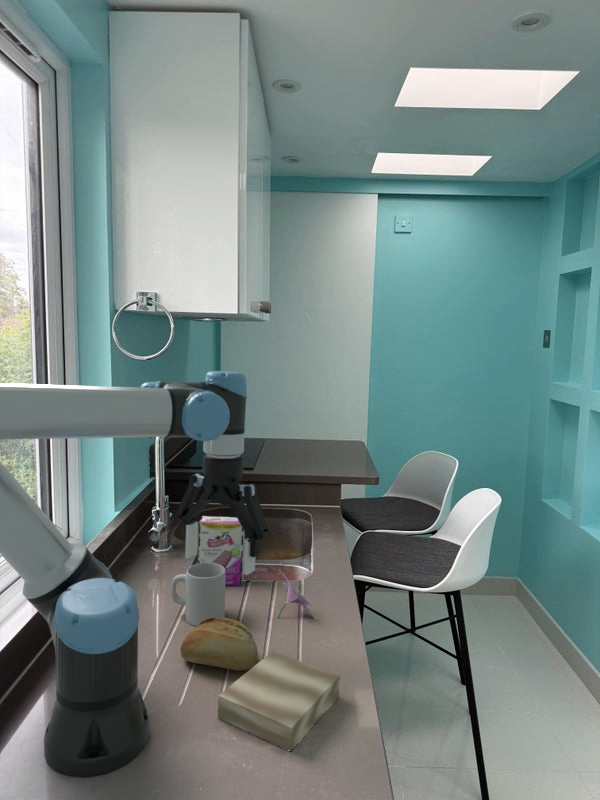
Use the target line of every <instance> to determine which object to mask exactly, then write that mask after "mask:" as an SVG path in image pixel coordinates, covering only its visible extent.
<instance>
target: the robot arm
mask: <svg viewBox="0 0 600 800" xmlns="http://www.w3.org/2000/svg"><path fill="white" fill-rule="evenodd" d="M247 388H248V387H247V377H246V375H245V374H244V373H241V372H239V371H230V370H225V371H224V370H211V371H208V372H207V373H206V374H205V378H204V381H200V382H193V381H192V382H191V381H188V382H187V381H186V382H185V381H162V380H158V381H147V382H144V383H142V384H141V385H140V387H138V386H137V387H135V386H134V387H133V386H132V387H131V386H102V385H99V386H97V385H96V386H95V385H72V384H71V385H68V384H41V383H37V384H36V383H7V382H4V383H2V382H0V440H41V439H42V440H49V439H50V440H51V439H53V440H55V439H102V438H103V439H108V438H110V439H112V438H119V439H120V438H191V439H192V440H195V441H202V442H203V446H202V451H203V452H204V455H203V456H202V473H200V472H199V473H195V474H192V475H190V476H189V481H188V487H187V488H186V491H185V493H184V495H183V496H182V499H181V501H180V503H179V505H178V508H177V510H176V511H175V514H174V517H175V519H176V520H181V522H182V524H183V532H182V533H183V534H182V536H183V539H184V540H185V547H184V549H185V555H184V558H185V559H190V558H192V557H194V556H196V555H198V542H199V522H198V521H197V518H198V516H200V514H201V513H202V512H203V511H204V510H205V509H206V508H207V506H208V505H209V504H210V503H212V504H213V503H214V504H219V505H220V504H221V505H222V506H228V508H229V509H230V510H232V512H233V514H234V515H235V517H237V519H238V520H239V522H240V524H241V526H242V527H243V529H244V531H245V535H246V536H247V538H245V542H244V571H243V576H249V575H250V574H251V573H253V572H254V571H256V557H257V556H259V554H260V545H261V544H260V543H261V540H262V539H264V538H266V537H268V536H269V535H270V534H271V532H270V528H269V525H268V523H267V520H266V517H265V515H264V512H263V509H262V506H261V503H260V500H259V497H258V488H257V485H256V484H255V483H251V484H243V481H242V477H243V474H244V460H245V459H244V456H243V455H242V454H243V453H244V450H245V435H246V434H245V433H246V432H245V429H246V428H245V427H246V423H245V422H246V410H247V409H246V408H247V399H248V395H247V394H248V393H247ZM202 486H203V488H204V492H203V493H202V494H201V495H200V496H199V499H198V500H196V498H197V496H198V494H199V492H200V490H201V488H202ZM243 497H244V499H243ZM195 501H196V502H195ZM194 502H195V504H194ZM193 504H194V505H193ZM0 556H2V557H3V559H4V560H5V561H6V562H7V563H8V564H9V565H10V566H11V567H12V568H13V570H15V571H14V572H16V573H17V575H19V576H20V577H21V579H23V581H24V583H23V588H22V595H23V596H24V597H25V599H26V600H27V601H28V602H29V603H30V604H31V605H32V606H33V607H34V608H35V609H36V611H38V613H39V614H40V615H41V616H42V617H43V618H44V620H45V621H46V622H47V625H48V627H49V632H50V634H51V637H52V642H53V646H54V654H55V687H56V688H55V689H56V690H55V691H56V693H55V695H56V697H55V699H56V700H55V702H54V705H53V709H52V713H51V717H50V721H48V722H49V723H48V725H47V727H46V729H45V731H44V737H43V752H44V753H43V754H44V758H45V761H46V763H47V764H48V765H49V766H50V768H52V769H53V770H54V771H56V772H58V773H60V774H62V775H63V774H64V775H67V776H69V777H70V776H71V777H93V776H99V775H103V774H107V773H110V772H112V771H115V770H117V769H119V768H121V767H124V766H125V765H127V764H129V762H131V761H133V760H134V759H136V757H137V756H138V755H139V754H140V753H141V752H142V751H143V749H144V748H145V746H146V745H147V742H148V741H149V738H150V716H149V713H148V710H147V707H146V704H145V702H144V701H145V700H144V699H143V697H142V694H141V691H140V689H139V685H138V683H139V682H138V681H139V680H138V679H139V678H138V677H139V676H138V674H139V671H138V670H139V660H138V659H139V657H138V656H139V621H140V610H139V605H138V598H137V595H136V592H135V591H134V589H133V588H132V587H130V586H129V585H128V584H126V583H125V582H123V581H118V582H117V580H116V579H114V578H113V575H112V573H111V571H110V570H109V568H108V567H107V566H106V565H105V564H104V563H103V562H101V561H100V560H99V559H97V558H95V556H94V555H93V553H92V552H91V551H90V550H89V549H88V548H87V547H86V546H85V545H84V544H83V543H82V542H81V543H79V542H74V543H73V542H72V543H71V542H70V541H69V540H68V538H66V537H65V536H64V535H63V534H62V532H61V531H60V529H58V527H57V526H56V525H55V524H54V523H53V521H51V519H50V518H49V517H48V516H47V514H46V513H45V512H44V511H43V510H42V508H41V507H40V506H39V505H38V504H37V502H36V501H35V500H34V499H33V497H31V495H30V494H29V493H28V491H26V490H25V488H24V487H23V486H22V485H21V484H20V483H19V481H18V479H16V478H15V476H14V475H13V474H12V473H11V472H10V471H9V470H8V469H7V467H6V465H4V464H3V462H2V461H1V460H0Z"/></svg>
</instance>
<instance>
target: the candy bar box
mask: <svg viewBox="0 0 600 800" xmlns="http://www.w3.org/2000/svg"><path fill="white" fill-rule="evenodd" d="M245 535H246V533H245V531H244V529H243V527H242V526H241V524H240V522H239V520H238V519H237V517H236V516H212V515H210V516H209V515H208V516H207V515H202V516H201V518H200V520H199V522H198V551H197V555H198V563H197V564H199V563H216V564H219V565H221V566H223V567H224V568H225V587H226V586H228V587H231V586H232V587H233V586H234V587H242V585H243V580H244V574H243V571H244V548H245V540H246V538H245V537H246V536H245Z"/></svg>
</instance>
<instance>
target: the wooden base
mask: <svg viewBox="0 0 600 800" xmlns="http://www.w3.org/2000/svg"><path fill="white" fill-rule="evenodd" d="M340 677H341V675H339V674H336V673H333V672H330V671H328V670H325V669H323V668H320V667H318V666H317V667H316V666H315V665H312V664H309V663H306V662H304V661H301V660H299V659H296V658H293V657H290V656H287V655H284V654H281V653H280V652H278V651H274V650H272V651H271V652H270V653H268V654H267V655H266V656H265V657H263V658H262V659H261V660H260V661H258V663H257V664H255V665H254V666H253V667H252V668H251V669H249V670H247V672H246V671H245V673H244V674H243V675H241V676H240V677H239V678H238V679H237V680H235V681H234V682H233V683H232V684H230V685H229V686H228V687H227V688H226V689H224V690H223V691H222V692H220V694H218V696H217V697H218V698H217V719H218V718H219V719H218V720H220V719H221V720H220V721H222V720H223V722H224V721H225V723H227V724H229V723H230V725H231V724H232V725H231V726H233V725H234V726H233V727H235V726H237V727H239V728H241V729H240V730H242V729H243V730H242V731H243V732H244V731H245V732H246V731H247V733H248V732H250V733H251V734H250V733H249V734H250V735H252V734H253V736H254V735H255V737H257V736H258V737H257V738H259V737H260V738H259V739H261V738H262V739H261V740H263V739H265V740H267V741H269V742H268V743H270V742H271V743H270V744H272V743H273V744H272V745H274V744H275V745H274V746H276V745H278V746H280V747H282V748H285V749H287V750H290V751H291V750H292V749H293V748H294V747H295V746H296V745H297V744H298V743H299V744H300V743H301V741H302V740H303V739H304V738H305V737H306V736H307V734H308V733H309V732H310V731H311V730H312V729H313V728H312V727H314V726H315V725H316V724H317V723H318V722H319V721H320V720H321V719H322V718H323V716H324V715H325V714H326V713H327V712H328V711H329V710H330V708H331V707H332V706H333V705H334V704H335V702H337V700H338V699H339V698H340V679H341V678H340ZM333 703H334V704H333ZM326 711H327V712H326ZM324 713H325V714H324ZM319 719H320V720H319ZM318 720H319V721H318ZM317 721H318V722H317ZM316 722H317V723H316ZM315 723H316V724H315ZM314 724H315V725H314ZM237 727H236V728H237ZM239 728H238V729H239ZM311 728H312V729H311ZM310 729H311V730H310ZM305 735H306V736H305ZM304 736H305V737H304ZM303 737H304V738H303ZM265 740H264V741H265ZM267 741H266V742H267ZM299 744H298V745H299ZM298 745H297V746H298ZM278 746H277V747H278ZM297 746H296V747H297ZM280 747H279V748H280ZM296 747H295V748H296ZM282 748H281V749H282ZM295 748H294V749H295ZM285 749H284V750H285ZM294 749H293V750H294ZM287 750H286V751H287ZM293 750H292V751H293Z"/></svg>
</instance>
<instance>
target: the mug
mask: <svg viewBox="0 0 600 800" xmlns="http://www.w3.org/2000/svg"><path fill="white" fill-rule="evenodd" d="M179 582H182V583H185V596H184V597H183V596H181V597H180V596H179V595H178V593H177V584H178V583H179ZM170 587H171V588H170V589H171V590H170V592H171V598H172V600H173V602H174V603H175V604H177V605H181V606H185V620H186V622H187V624H189V625H191V626H194V627H197V626H198V625H199V624H200V623H201V622H202V621H205V620H206V619H210V618H214V617H222V618H226V586H225V568H224V567H223V566H221V565H219V564H216V563H199V564H198V563H195V564H192V565H191V566H189V567H188V568H187V569H186V573H181V574H177V575H175V576H174V578H173V579H172V582H171V586H170Z"/></svg>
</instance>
